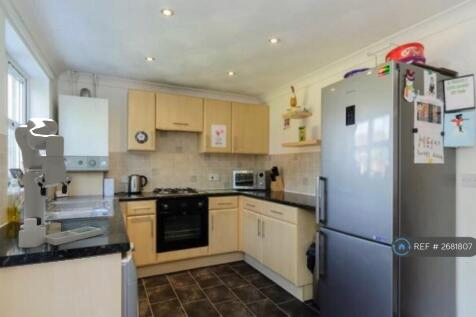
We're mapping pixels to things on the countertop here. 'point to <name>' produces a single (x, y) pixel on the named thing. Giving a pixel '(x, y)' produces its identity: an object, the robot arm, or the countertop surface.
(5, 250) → the countertop surface
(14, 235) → the countertop surface
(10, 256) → the countertop surface
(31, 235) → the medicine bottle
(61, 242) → the organiser tray
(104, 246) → the countertop surface
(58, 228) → the wooden block
